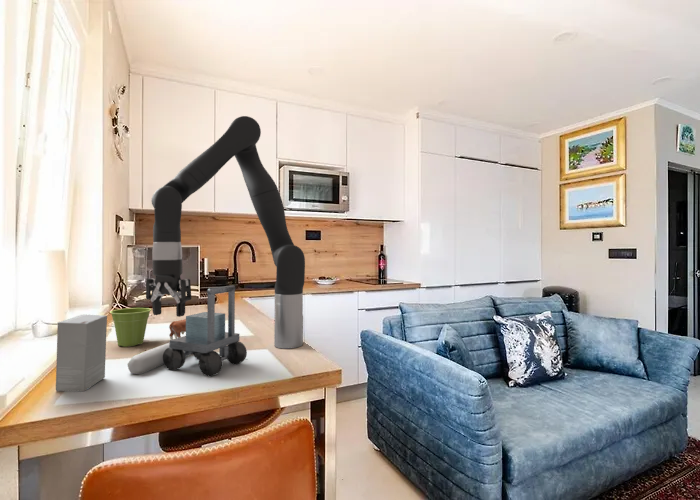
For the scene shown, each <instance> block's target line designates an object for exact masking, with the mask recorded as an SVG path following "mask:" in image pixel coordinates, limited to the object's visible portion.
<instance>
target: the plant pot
mask: <svg viewBox="0 0 700 500" xmlns="http://www.w3.org/2000/svg"><path fill="white" fill-rule="evenodd" d="M151 311H153V310H152V308H149V307H129V308H128V307H127V308H120V309H114V310H111V311H109V313H110V314H111V317H112V321H113V324H114V329H115V336H116V340H117V341H116V342H117V345H118V347H135V346H137V345H142V344H143V343H144V340H145V334H146V330H147V326H148V325H147V323H148V321H149V317H150V312H151Z"/></svg>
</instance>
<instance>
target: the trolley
mask: <svg viewBox="0 0 700 500" xmlns="http://www.w3.org/2000/svg"><path fill="white" fill-rule="evenodd" d="M206 293H207V311H201V312H198V313H194V314H190V315H186V316H185V319H186V332H185V335H184V336H181V337H180V338H178V337H177V338H176V339H175V338H173V340H170V339H169V342H168V343H169V348H167V349H166V350H165V351H164V353H163V362H164V364H163V365H164V366H165V367H166V369H168V370H170V371H176V370H179V369H181V368H183V366H184V365H185V362H186V357H187V356H191V355H193V357H194V358H195V359H197V360H198V367H199V370H200V372H201V373H202V374H203V375H205V376H206V377H213V376H216V375H217V374H219V373H220V372H221V371H222V369H223V361H225V360H227V362H228V363H230V364H232V365H238V364H241V363H243V362H244V361H245V360H246V358H247V355H248V351H247V347H246V346H245V344H243V342H241V341H240V333H239V332H238V333H236V332H235V330H236V329H235V328H236V327H235V324H236V322H235V319H236V317H235V316H236V315H235V310H236V308H235V307H236V305H235V304H236V303H235V301H236V296H235V295H236V294H235V293H236V286H235V285H233V284H232V285H226V286H219V287H212V288H208V289H207V290H206ZM223 293H227V294H228V297H227V298H228V299H227V300H228V301H227V302H228V304H227V307H228V308H227V311H228V312H227V316H228V317H227V319H228V321H227V325H228V326H227V327H228V328H227V331H228V332H227V331H226V313H223V312H215V311H216V310H215V307H216V306H215V305H216V301H215V298H216V296H215V295H217V294H223ZM183 350H184V351H185V352H183ZM216 350H219V351H218V352H219V353H218V352H217V351H216Z"/></svg>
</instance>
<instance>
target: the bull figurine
mask: <svg viewBox="0 0 700 500" xmlns="http://www.w3.org/2000/svg"><path fill="white" fill-rule="evenodd" d="M168 328H169V330H170V331H169V332H170V333H169V334H168V335H169V341H170V340H173V339H176V338H180V337H182V336H181V334H182V335H184V334H185V333H186V318H185V319H181V320H176V321H174V320H173V321H172V322H171V323H169V327H168Z"/></svg>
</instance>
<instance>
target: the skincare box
mask: <svg viewBox="0 0 700 500" xmlns="http://www.w3.org/2000/svg"><path fill="white" fill-rule="evenodd" d="M107 323H108V316H107V315H106V314H104V315H99V314H98V315H97V314H96V315H95V314H79V315H76V316H73V317H71V318H68V319H64V320H61V321H58V322H57V330H56V331H57V337H56V338H57V339H56V364H55V365H56V367H55V368H56V371H55V392H85V391H86V390H88V389H90V388H91V387H93V386H95V384H97V383H98V382H101V380H103V379H105V377H106V356H107V355H106V351H107V330H108V329H107V327H108V326H107V325H108V324H107Z"/></svg>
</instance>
